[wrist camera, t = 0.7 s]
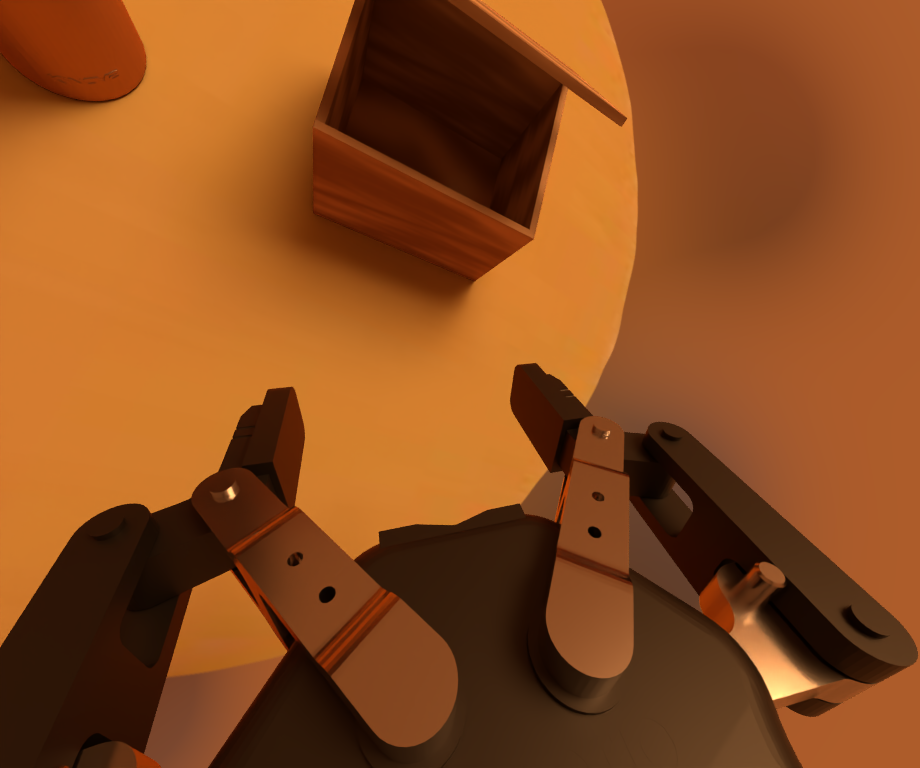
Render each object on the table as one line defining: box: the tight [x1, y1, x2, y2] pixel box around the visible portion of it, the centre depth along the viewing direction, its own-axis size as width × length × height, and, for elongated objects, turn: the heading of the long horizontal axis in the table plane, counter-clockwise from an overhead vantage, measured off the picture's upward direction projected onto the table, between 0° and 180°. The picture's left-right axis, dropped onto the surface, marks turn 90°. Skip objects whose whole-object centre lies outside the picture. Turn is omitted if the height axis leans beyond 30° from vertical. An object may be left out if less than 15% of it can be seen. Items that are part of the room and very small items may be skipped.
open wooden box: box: [313, 0, 568, 281], centre depth 33 cm, size 16×18×12 cm
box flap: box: [448, 0, 627, 127], centre depth 24 cm, size 15×17×1 cm
